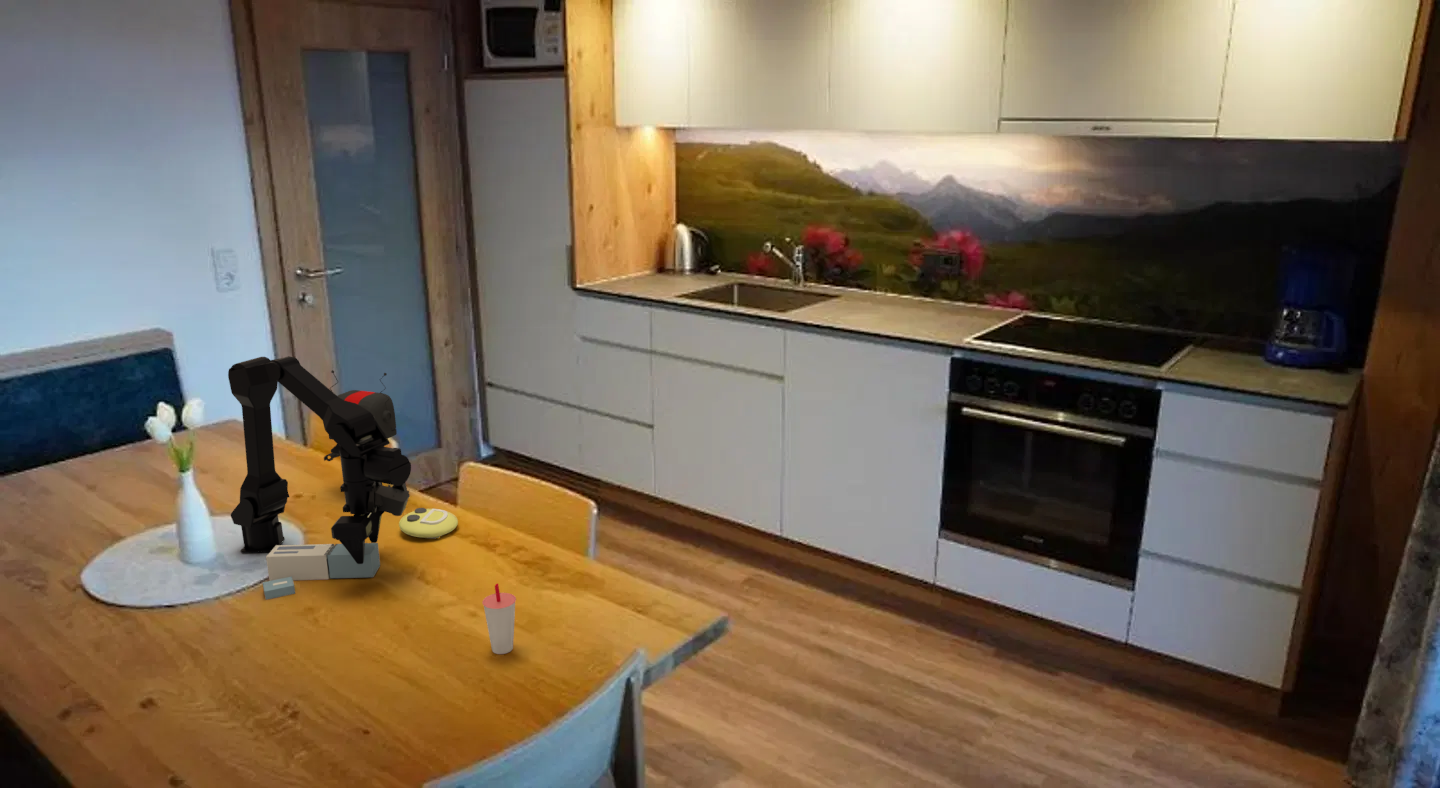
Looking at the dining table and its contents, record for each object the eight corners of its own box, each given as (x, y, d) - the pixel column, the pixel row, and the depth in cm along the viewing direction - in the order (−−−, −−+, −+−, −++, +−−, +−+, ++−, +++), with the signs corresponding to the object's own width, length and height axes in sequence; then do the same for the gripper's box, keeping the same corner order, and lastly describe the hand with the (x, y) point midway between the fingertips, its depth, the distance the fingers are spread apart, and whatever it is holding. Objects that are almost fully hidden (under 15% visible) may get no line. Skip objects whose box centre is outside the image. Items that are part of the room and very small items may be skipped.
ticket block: (269, 580, 184) (265, 556, 182) (279, 568, 189) (275, 544, 187) (328, 579, 185) (325, 554, 183) (337, 567, 189) (334, 543, 188)
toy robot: (421, 494, 225) (410, 369, 216) (396, 509, 216) (383, 380, 208) (344, 483, 232) (330, 361, 223) (317, 497, 223) (301, 371, 215)
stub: (330, 578, 185) (327, 554, 183) (338, 566, 189) (335, 543, 188) (373, 577, 185) (370, 553, 184) (380, 565, 190) (377, 542, 188)
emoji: (466, 506, 210) (412, 500, 211) (445, 529, 199) (388, 523, 200) (466, 522, 211) (412, 516, 212) (445, 547, 200) (389, 540, 201)
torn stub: (265, 601, 177) (264, 591, 176) (263, 592, 180) (262, 582, 180) (295, 595, 179) (294, 584, 179) (293, 586, 183) (291, 576, 182)
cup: (481, 656, 159) (476, 590, 155) (491, 639, 164) (486, 575, 160) (514, 658, 158) (509, 591, 155) (522, 640, 164) (518, 576, 160)
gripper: (389, 495, 173) (397, 574, 178) (414, 458, 191) (421, 531, 196) (325, 496, 173) (335, 575, 177) (357, 459, 191) (365, 532, 195)
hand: (367, 552), depth 186 cm, fingers open, 9 cm apart
